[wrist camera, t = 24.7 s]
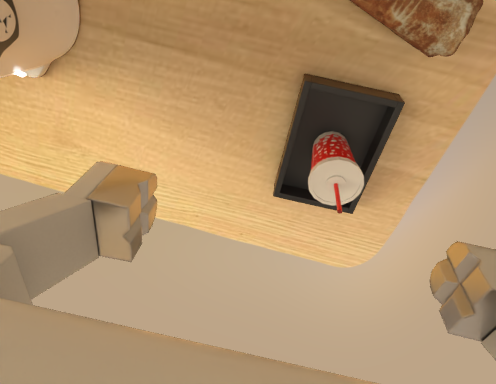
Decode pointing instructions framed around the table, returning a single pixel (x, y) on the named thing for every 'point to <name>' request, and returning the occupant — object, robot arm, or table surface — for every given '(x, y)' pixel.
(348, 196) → the beverage cup
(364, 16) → the table surface
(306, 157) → the tray
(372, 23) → the table surface
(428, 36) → the bread
